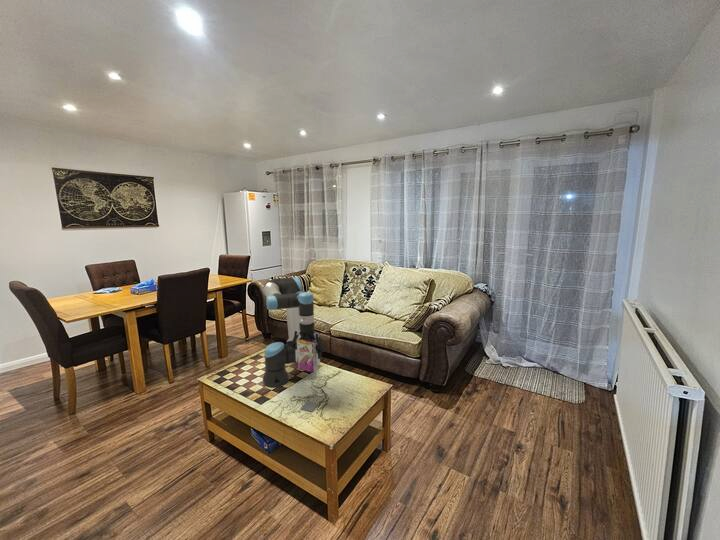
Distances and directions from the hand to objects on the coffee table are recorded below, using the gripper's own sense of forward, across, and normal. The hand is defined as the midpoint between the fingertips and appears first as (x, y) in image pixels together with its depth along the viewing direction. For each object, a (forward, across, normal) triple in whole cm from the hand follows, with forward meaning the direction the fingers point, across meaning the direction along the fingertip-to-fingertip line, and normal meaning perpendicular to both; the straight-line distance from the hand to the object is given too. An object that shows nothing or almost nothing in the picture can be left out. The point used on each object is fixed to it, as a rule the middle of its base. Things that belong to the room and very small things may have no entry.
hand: (307, 362), depth 160 cm
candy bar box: (+4, 0, 0) cm, 4 cm away
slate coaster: (+24, +1, -1) cm, 24 cm away
